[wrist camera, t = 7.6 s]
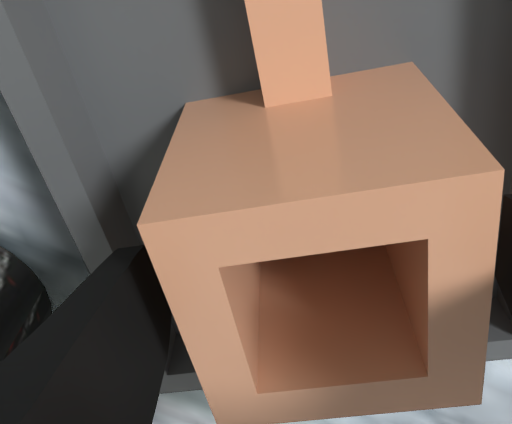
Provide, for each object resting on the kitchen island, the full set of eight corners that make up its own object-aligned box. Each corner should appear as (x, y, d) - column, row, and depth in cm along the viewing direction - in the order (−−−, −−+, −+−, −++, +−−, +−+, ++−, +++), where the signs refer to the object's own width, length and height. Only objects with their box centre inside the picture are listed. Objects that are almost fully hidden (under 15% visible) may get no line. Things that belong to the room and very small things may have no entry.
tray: (511, 295, 15) (547, 355, 13) (163, 335, 17) (149, 394, 15) (592, -294, 8) (698, -356, 6) (-34, -136, 10) (-116, -144, 8)
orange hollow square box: (415, 245, 13) (480, 404, 9) (233, 270, 14) (218, 429, 10) (409, -123, 9) (535, -137, 5) (139, -61, 9) (36, -25, 5)
